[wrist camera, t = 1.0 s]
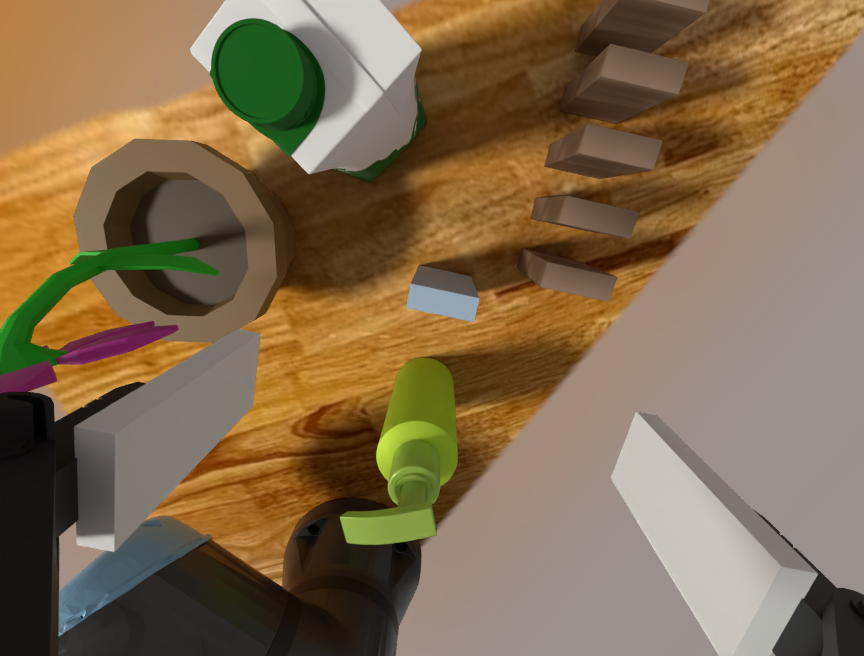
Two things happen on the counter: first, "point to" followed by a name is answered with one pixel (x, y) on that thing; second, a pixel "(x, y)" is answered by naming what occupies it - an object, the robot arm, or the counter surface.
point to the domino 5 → (585, 215)
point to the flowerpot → (160, 256)
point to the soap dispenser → (411, 456)
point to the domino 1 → (443, 293)
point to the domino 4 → (603, 152)
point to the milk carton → (318, 79)
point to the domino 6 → (566, 275)
